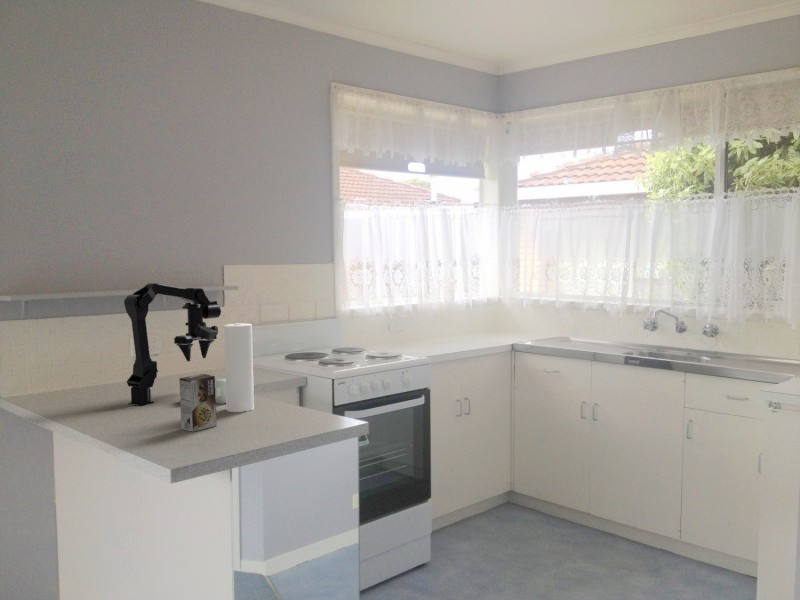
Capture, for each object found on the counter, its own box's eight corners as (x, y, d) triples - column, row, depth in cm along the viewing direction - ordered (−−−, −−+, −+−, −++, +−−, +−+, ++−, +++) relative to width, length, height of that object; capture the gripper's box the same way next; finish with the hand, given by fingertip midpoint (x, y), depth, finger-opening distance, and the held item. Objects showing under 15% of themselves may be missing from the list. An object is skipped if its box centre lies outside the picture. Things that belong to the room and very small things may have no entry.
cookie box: (205, 423, 232) (203, 373, 231) (217, 426, 228) (215, 375, 227) (180, 429, 225) (178, 377, 224) (192, 432, 221) (190, 379, 220)
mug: (224, 405, 260) (223, 383, 259) (208, 403, 263) (207, 382, 262) (239, 400, 268) (238, 379, 268) (223, 399, 271) (223, 378, 270)
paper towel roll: (247, 412, 247) (245, 324, 245) (221, 411, 249) (219, 324, 247) (258, 406, 257) (256, 322, 255) (233, 406, 258) (231, 322, 256)
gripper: (196, 322, 270) (197, 364, 271) (227, 318, 287) (228, 357, 288) (172, 321, 275) (173, 362, 276) (204, 317, 292) (205, 356, 293)
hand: (196, 359), depth 283 cm, fingers open, 9 cm apart
